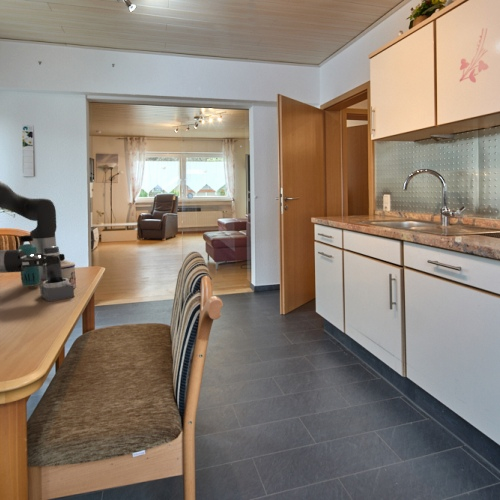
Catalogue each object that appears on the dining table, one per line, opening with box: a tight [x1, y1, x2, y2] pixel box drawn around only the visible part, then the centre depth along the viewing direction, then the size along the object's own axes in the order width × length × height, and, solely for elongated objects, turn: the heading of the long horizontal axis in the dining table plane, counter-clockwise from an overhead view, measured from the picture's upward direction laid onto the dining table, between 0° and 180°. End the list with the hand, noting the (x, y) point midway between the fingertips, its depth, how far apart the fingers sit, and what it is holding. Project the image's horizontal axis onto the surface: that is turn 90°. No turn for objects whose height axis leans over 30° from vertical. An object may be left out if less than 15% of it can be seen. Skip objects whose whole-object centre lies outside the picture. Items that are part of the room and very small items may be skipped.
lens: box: [43, 245, 63, 283], centre depth 132 cm, size 5×5×13 cm
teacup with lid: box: [60, 259, 77, 289], centre depth 146 cm, size 12×9×12 cm
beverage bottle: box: [17, 234, 42, 287], centre depth 146 cm, size 6×7×20 cm
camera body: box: [39, 278, 75, 302], centre depth 134 cm, size 10×8×6 cm
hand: (61, 258), depth 132 cm, fingers open, 5 cm apart
